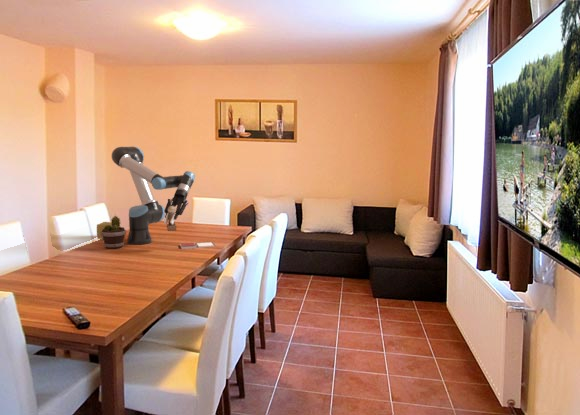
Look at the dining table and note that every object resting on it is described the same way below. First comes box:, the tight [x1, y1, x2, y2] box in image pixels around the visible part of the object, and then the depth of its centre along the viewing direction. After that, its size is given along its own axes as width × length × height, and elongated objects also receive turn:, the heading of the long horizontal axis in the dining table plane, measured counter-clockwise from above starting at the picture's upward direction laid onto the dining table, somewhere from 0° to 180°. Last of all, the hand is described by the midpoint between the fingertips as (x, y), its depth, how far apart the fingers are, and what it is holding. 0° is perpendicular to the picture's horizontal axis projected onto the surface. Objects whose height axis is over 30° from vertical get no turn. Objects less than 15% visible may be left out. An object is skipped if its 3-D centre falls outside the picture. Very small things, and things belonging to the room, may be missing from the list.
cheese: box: [96, 221, 113, 240], centre depth 299 cm, size 10×11×10 cm
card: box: [194, 241, 216, 248], centre depth 283 cm, size 11×11×1 cm
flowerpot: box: [100, 214, 127, 250], centre depth 272 cm, size 14×15×20 cm
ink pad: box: [179, 242, 197, 250], centre depth 278 cm, size 9×9×2 cm
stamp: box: [166, 206, 177, 232], centre depth 268 cm, size 7×5×15 cm
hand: (168, 223), depth 265 cm, fingers closed on stamp, 3 cm apart
